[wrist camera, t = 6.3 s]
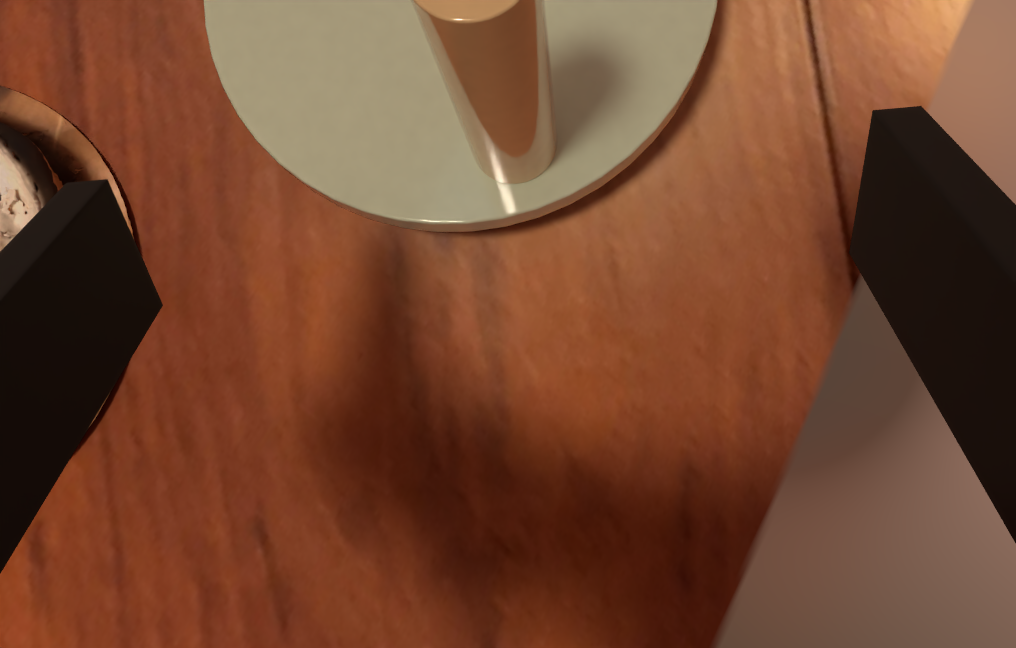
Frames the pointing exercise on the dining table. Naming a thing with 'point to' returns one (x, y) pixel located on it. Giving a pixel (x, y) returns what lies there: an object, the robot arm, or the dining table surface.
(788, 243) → the dining table surface
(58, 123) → the cake on gold board
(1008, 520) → the robot arm
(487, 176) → the turntable plate
